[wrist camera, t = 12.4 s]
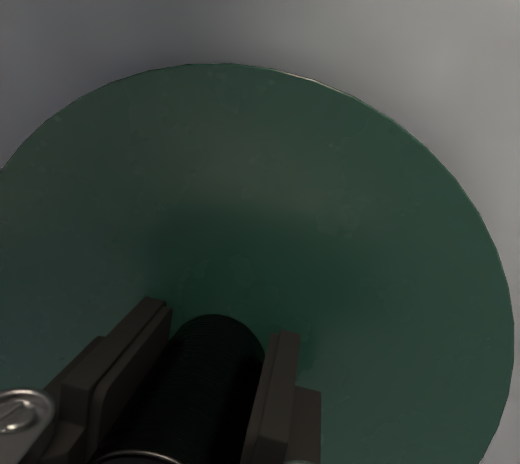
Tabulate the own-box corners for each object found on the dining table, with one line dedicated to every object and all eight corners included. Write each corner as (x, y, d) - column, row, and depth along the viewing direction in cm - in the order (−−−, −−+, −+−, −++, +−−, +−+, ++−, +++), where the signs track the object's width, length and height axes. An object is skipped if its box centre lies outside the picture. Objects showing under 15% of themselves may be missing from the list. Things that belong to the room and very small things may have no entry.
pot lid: (-14, 471, 16) (-215, 684, 10) (-3, 17, 12) (-338, -80, 6) (408, 592, 14) (464, 917, 9) (590, 134, 10) (933, 162, 4)
